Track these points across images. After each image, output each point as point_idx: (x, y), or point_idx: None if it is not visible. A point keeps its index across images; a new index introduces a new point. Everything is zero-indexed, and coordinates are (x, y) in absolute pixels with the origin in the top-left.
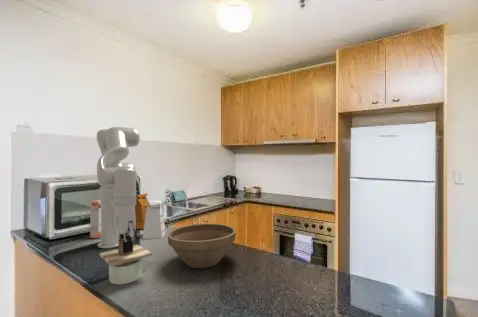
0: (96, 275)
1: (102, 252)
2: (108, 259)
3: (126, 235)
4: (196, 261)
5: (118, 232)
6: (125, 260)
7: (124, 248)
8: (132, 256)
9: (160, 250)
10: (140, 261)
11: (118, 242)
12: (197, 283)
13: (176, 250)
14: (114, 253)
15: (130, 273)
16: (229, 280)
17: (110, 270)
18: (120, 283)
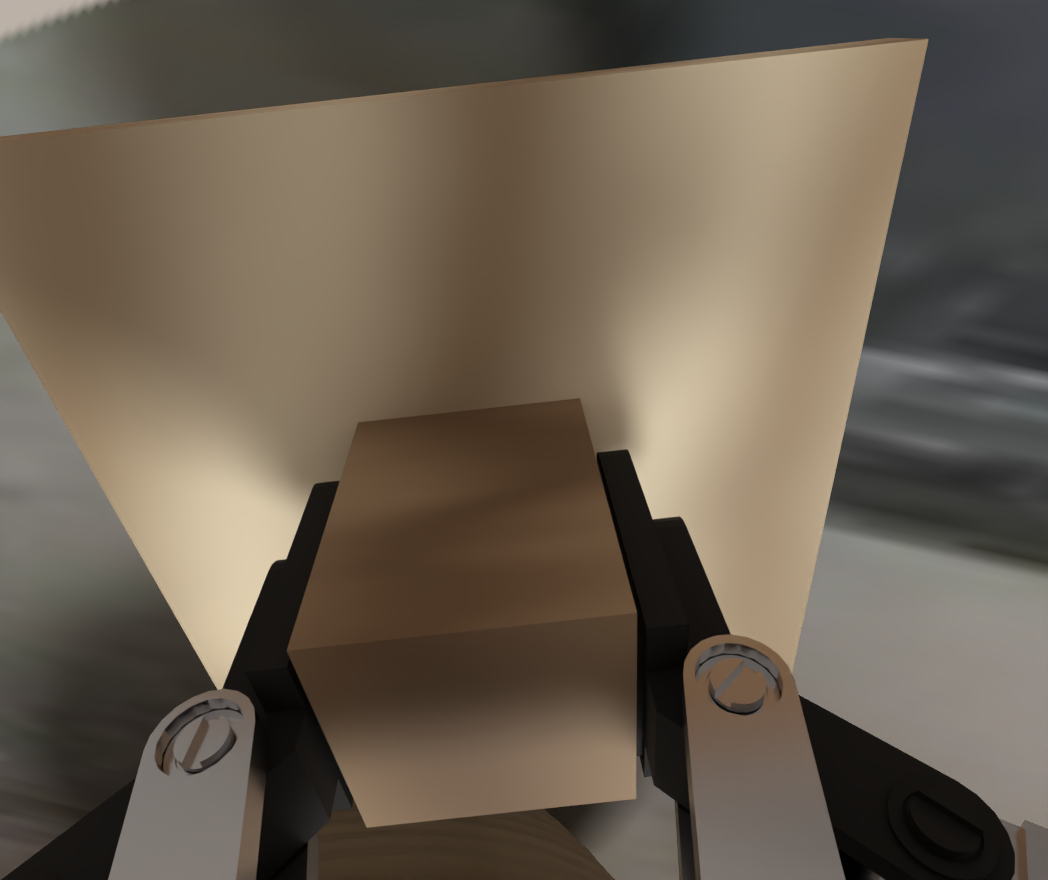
0: (824, 3)
1: (893, 115)
2: (251, 146)
3: (678, 818)
4: None
5: (952, 800)
6: (76, 423)
7: (299, 553)
8: (214, 544)
9: (888, 697)
10: None
11: (595, 551)
12: (40, 708)
13: (319, 866)
14: (597, 334)
15: None
16: (15, 826)
17: None
18: None
